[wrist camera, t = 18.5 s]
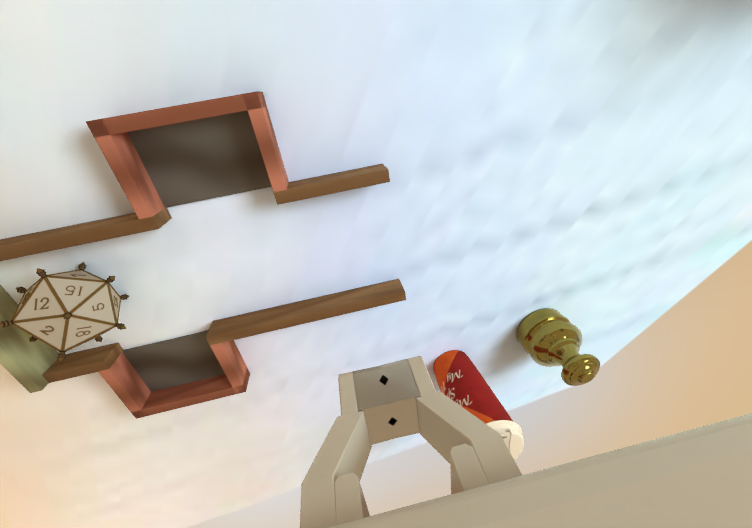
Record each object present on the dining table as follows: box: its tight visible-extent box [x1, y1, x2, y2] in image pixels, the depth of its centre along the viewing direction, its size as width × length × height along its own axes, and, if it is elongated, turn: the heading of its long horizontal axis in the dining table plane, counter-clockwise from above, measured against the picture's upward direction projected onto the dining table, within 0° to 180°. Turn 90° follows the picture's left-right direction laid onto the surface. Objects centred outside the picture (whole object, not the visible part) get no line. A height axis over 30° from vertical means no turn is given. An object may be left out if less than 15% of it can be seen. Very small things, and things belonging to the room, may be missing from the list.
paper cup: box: [434, 350, 524, 460], centre depth 43 cm, size 8×8×14 cm
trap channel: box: [0, 92, 406, 418], centre depth 34 cm, size 32×42×4 cm
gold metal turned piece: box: [517, 309, 600, 386], centre depth 44 cm, size 7×7×10 cm
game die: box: [0, 262, 129, 362], centre depth 31 cm, size 9×8×10 cm
